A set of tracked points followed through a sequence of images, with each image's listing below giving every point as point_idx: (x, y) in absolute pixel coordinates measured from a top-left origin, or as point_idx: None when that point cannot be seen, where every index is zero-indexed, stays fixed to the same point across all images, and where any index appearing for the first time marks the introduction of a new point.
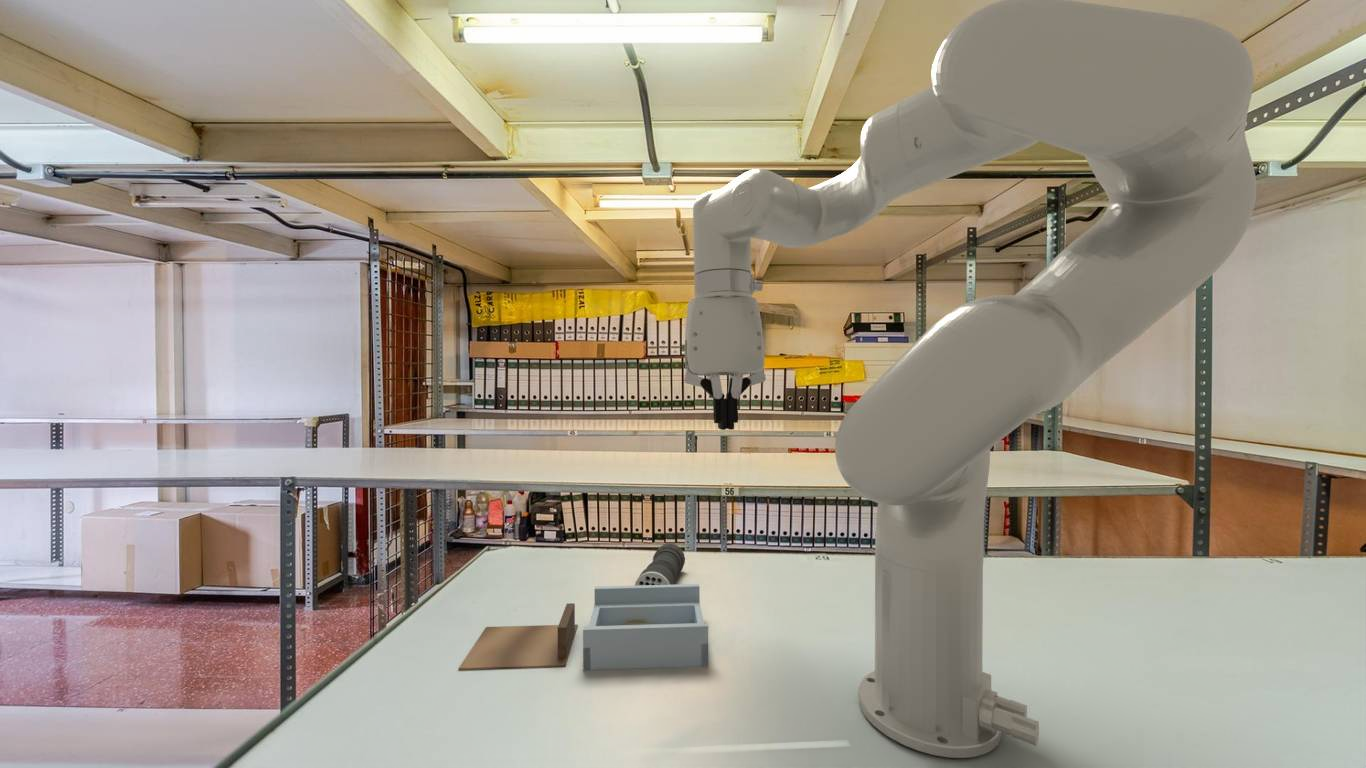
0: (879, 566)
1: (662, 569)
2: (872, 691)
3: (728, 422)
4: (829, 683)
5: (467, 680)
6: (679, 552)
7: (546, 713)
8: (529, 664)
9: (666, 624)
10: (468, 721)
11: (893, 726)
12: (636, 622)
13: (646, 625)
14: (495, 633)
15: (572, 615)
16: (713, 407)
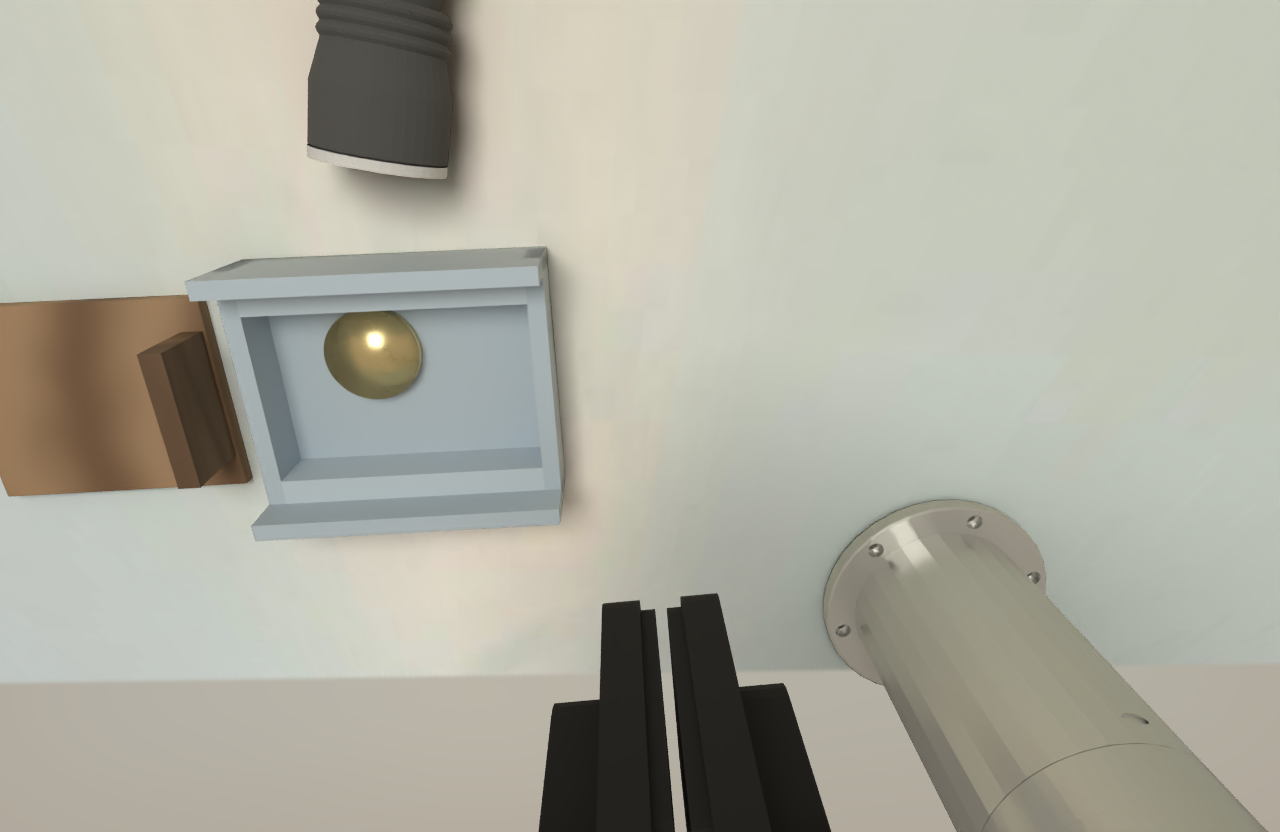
0: (964, 820)
1: (393, 114)
2: (860, 581)
3: (684, 807)
4: (801, 515)
5: (54, 508)
6: None
7: (272, 595)
8: (163, 482)
9: (457, 517)
10: (143, 615)
11: (848, 657)
12: (367, 318)
13: (407, 521)
14: None
15: (181, 388)
16: (541, 824)
